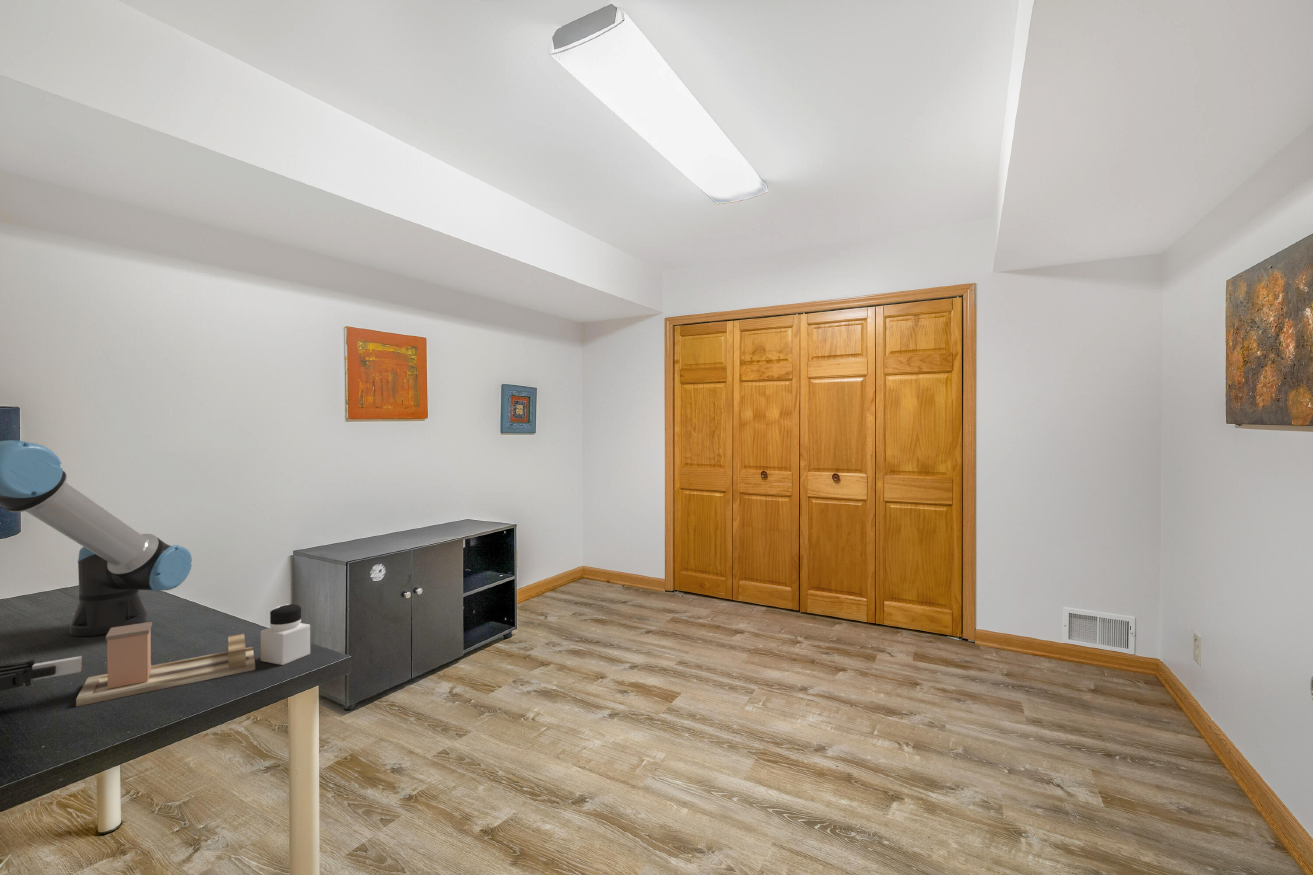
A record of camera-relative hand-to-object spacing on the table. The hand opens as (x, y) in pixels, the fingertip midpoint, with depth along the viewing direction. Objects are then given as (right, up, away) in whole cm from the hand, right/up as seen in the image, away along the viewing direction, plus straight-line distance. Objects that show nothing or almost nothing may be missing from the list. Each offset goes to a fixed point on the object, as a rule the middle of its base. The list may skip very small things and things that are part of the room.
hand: (80, 663), depth 113 cm
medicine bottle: (+28, -7, +20) cm, 35 cm away
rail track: (+11, -6, +9) cm, 15 cm away
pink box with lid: (+5, -5, +5) cm, 9 cm away
